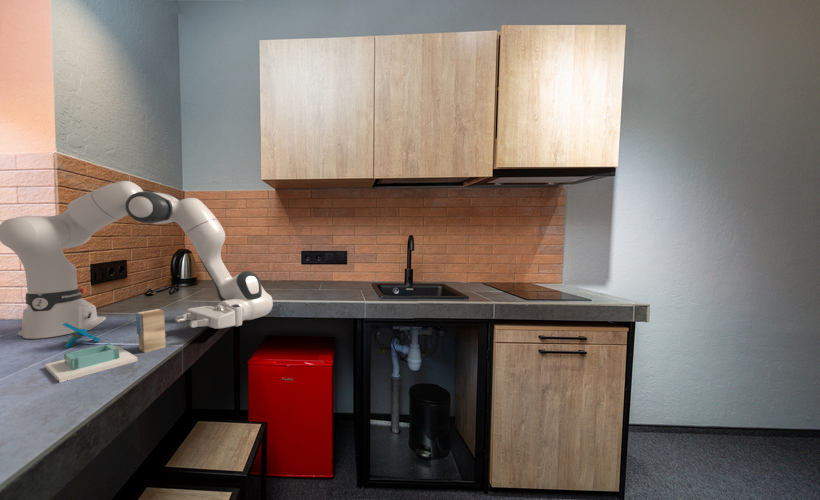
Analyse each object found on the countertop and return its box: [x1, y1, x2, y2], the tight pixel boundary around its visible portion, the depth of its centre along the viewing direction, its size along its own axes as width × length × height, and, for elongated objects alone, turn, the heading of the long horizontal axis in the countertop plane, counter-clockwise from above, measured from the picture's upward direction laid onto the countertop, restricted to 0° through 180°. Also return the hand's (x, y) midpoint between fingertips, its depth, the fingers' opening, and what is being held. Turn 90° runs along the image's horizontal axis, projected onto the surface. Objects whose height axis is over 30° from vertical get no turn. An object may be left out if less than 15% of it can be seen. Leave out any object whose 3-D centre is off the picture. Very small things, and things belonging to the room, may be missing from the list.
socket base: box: [44, 342, 139, 384], centre depth 80 cm, size 14×14×4 cm
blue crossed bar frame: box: [63, 323, 101, 349], centre depth 93 cm, size 11×6×10 cm
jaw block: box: [135, 308, 167, 354], centre depth 91 cm, size 4×6×11 cm
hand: (183, 322), depth 98 cm, fingers open, 8 cm apart
